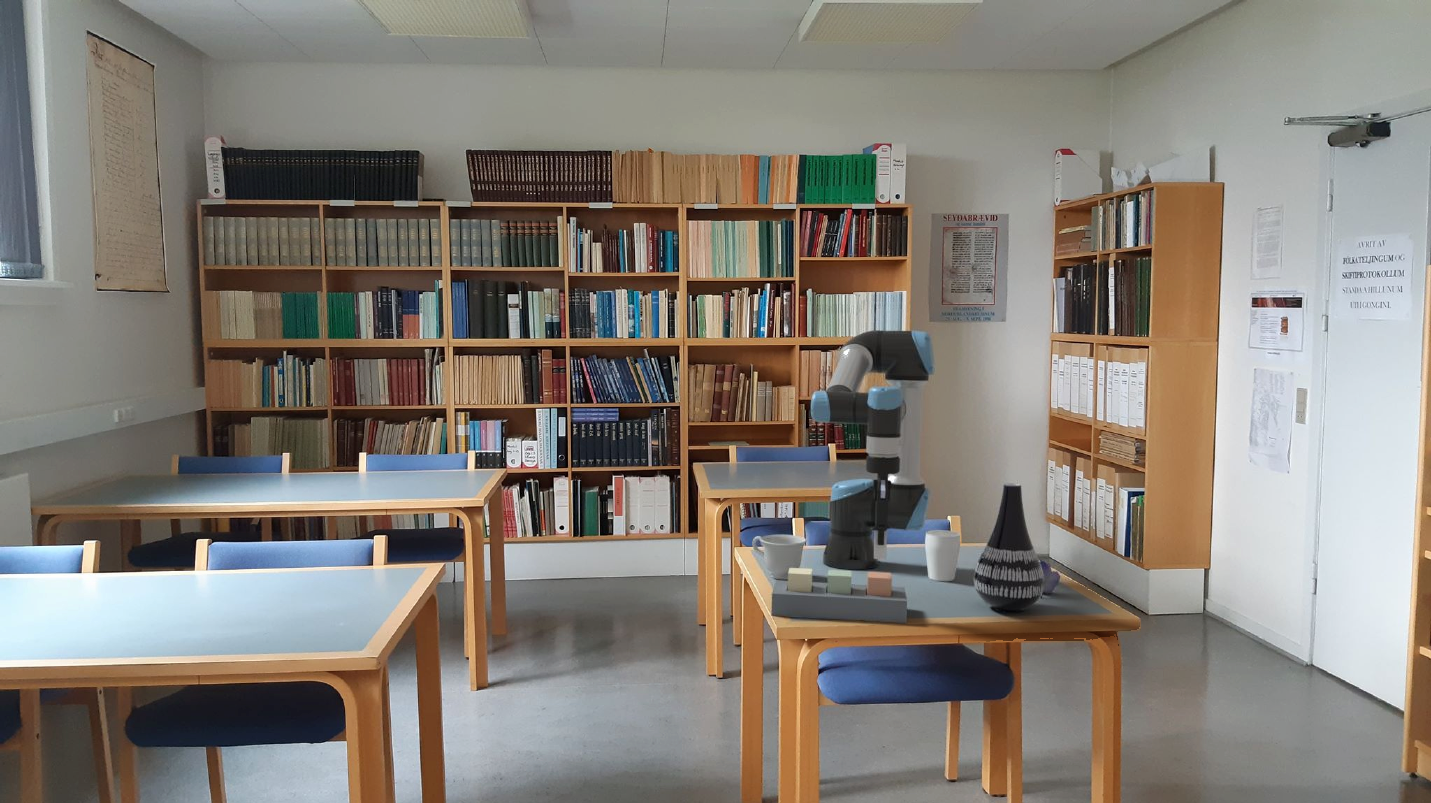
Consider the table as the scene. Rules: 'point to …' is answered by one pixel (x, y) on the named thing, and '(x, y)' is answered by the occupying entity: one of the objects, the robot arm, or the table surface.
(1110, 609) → the table surface
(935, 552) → the cup
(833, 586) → the button sage
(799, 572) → the button cream
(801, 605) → the panel
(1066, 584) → the table surface
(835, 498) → the robot arm
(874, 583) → the button terracotta
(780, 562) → the teacup
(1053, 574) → the flower
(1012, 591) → the vase
